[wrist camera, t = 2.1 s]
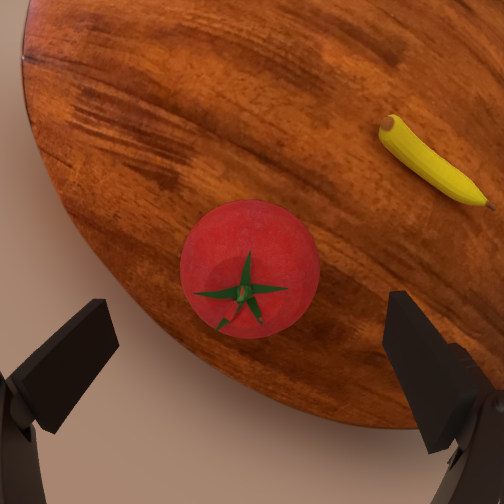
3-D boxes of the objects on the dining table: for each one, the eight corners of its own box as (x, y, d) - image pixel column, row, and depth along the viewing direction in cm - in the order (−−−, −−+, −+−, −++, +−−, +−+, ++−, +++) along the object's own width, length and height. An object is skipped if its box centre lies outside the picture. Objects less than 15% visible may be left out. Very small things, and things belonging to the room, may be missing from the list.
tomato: (233, 321, 24) (215, 387, 17) (174, 229, 22) (127, 266, 15) (332, 275, 22) (355, 332, 15) (278, 170, 20) (279, 178, 13)
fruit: (467, 187, 19) (504, 197, 15) (456, 209, 20) (492, 223, 15) (371, 113, 18) (397, 102, 14) (358, 137, 19) (382, 132, 14)
